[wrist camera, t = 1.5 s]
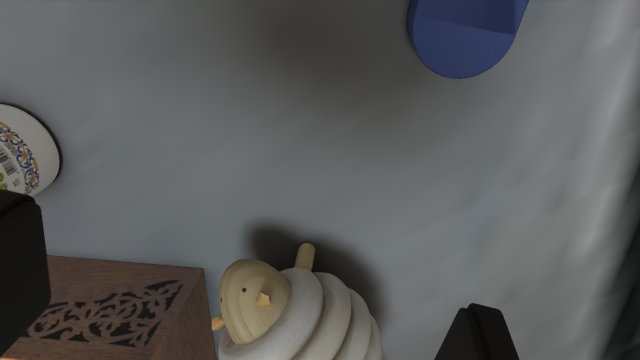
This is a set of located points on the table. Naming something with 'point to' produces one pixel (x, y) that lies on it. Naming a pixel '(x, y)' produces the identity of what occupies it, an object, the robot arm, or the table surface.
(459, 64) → the navy rounded-end tab
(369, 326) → the toy sheep
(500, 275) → the table surface
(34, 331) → the tissue box cover
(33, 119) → the bath foam
